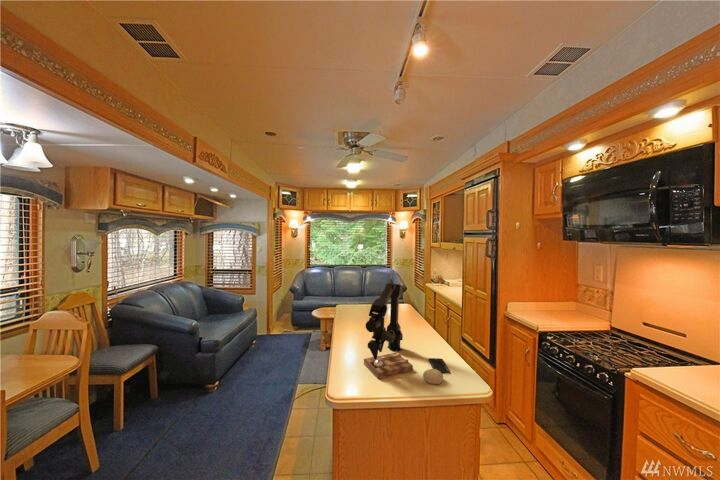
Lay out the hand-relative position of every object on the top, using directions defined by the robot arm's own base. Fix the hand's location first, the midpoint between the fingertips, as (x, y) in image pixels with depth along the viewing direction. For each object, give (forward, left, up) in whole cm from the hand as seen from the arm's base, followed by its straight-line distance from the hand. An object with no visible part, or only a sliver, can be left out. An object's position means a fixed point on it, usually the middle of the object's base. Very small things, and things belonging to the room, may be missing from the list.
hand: (378, 355), depth 142 cm
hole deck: (-4, +3, -6) cm, 8 cm away
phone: (-30, +12, -6) cm, 33 cm away
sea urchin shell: (-18, +22, -6) cm, 29 cm away
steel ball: (+1, +3, -3) cm, 5 cm away
